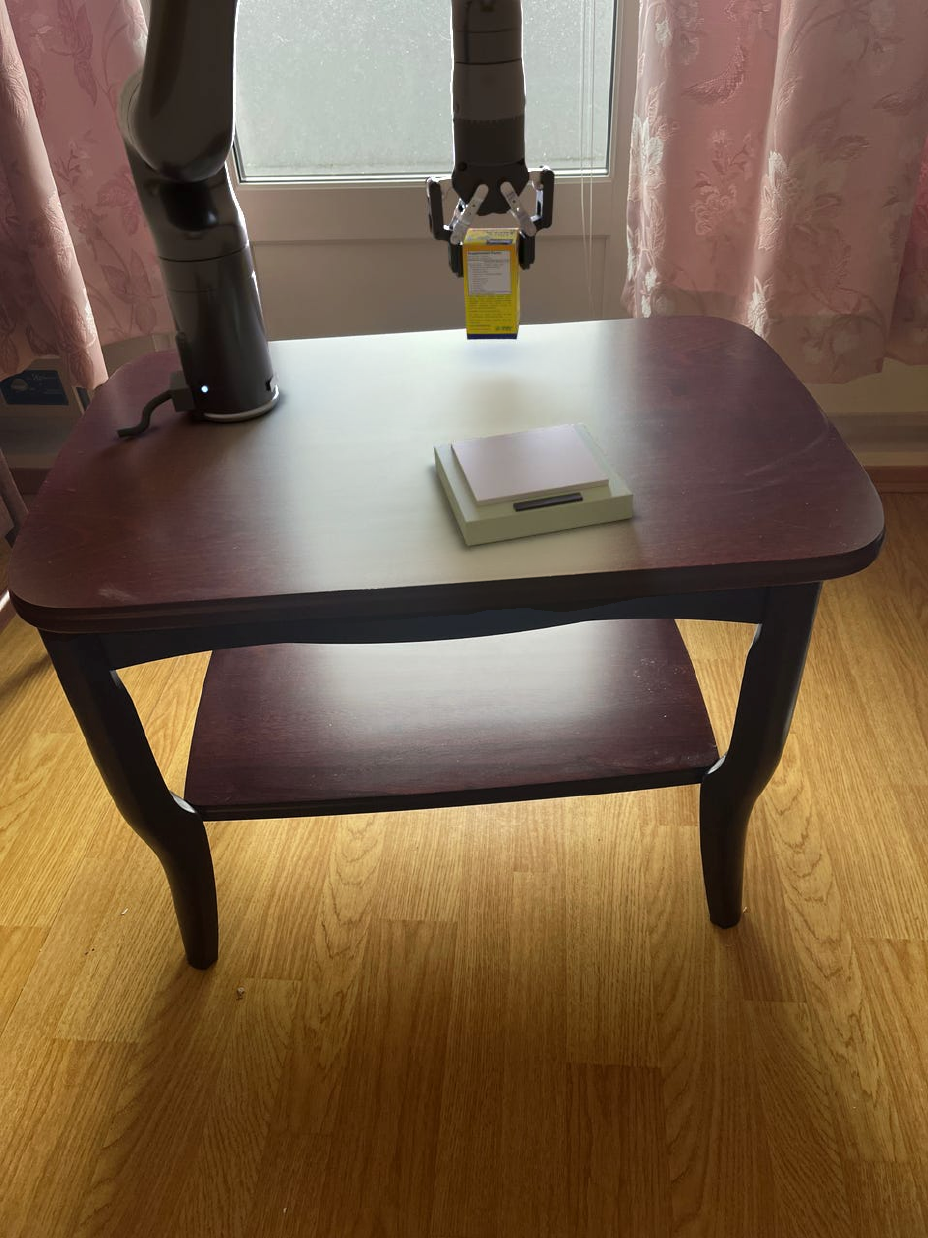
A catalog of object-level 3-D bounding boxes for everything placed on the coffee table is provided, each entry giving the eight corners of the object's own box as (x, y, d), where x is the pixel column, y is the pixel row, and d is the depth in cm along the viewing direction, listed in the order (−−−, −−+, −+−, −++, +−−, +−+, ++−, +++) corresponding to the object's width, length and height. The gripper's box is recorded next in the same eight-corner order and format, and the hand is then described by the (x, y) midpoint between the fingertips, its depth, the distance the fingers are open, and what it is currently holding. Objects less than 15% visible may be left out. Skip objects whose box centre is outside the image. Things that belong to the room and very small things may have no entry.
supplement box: (520, 321, 114) (520, 226, 107) (517, 340, 109) (516, 243, 102) (470, 321, 114) (467, 226, 108) (465, 340, 110) (462, 243, 103)
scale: (467, 546, 82) (465, 516, 80) (435, 468, 93) (433, 440, 91) (631, 518, 84) (633, 488, 82) (582, 445, 95) (582, 417, 93)
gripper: (545, 96, 101) (543, 254, 111) (413, 108, 99) (423, 268, 109) (566, 109, 95) (562, 275, 106) (426, 122, 93) (436, 290, 104)
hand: (491, 271), depth 108 cm, fingers closed on supplement box, 7 cm apart
